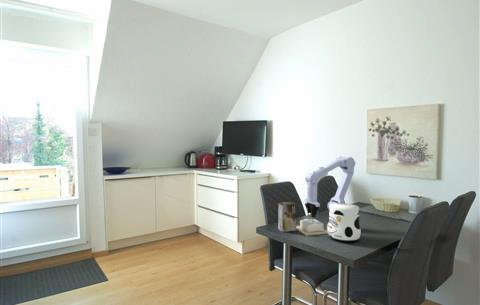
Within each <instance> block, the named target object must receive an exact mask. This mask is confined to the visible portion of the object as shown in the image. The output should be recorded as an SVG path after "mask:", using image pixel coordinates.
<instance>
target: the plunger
mask: <svg viewBox="0 0 480 305" xmlns="http://www.w3.org/2000/svg"><path fill="white" fill-rule="evenodd" d="M307 215H308V216H307V217H308V218H310V219H308V220H307V221H304V222H305V223H307V224H319V222H320V221H319V222H317V221H318V220H317V221H315V220H316V219H315V220H313V219H314V217H312V215H311V212H309V213H307Z"/></svg>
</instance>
